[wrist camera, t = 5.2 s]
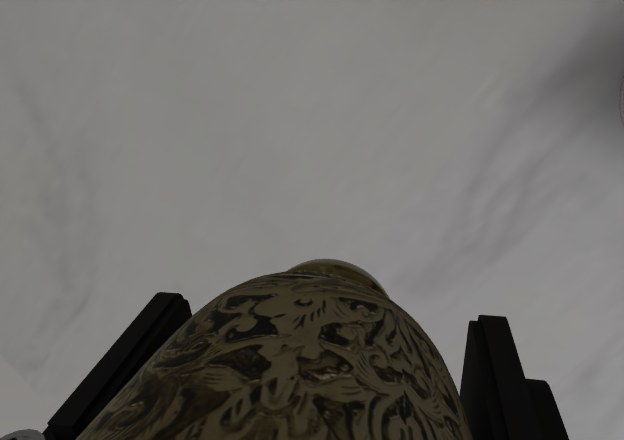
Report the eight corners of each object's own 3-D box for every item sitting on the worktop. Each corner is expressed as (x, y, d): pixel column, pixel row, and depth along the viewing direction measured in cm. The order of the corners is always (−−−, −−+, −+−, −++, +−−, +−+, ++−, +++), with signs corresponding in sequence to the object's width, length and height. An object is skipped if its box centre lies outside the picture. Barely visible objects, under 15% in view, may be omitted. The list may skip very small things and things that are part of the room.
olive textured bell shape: (301, 124, 10) (56, 419, 3) (530, 297, 11) (737, 822, 4) (176, 303, 14) (-63, 618, 7) (355, 420, 15) (305, 804, 8)
